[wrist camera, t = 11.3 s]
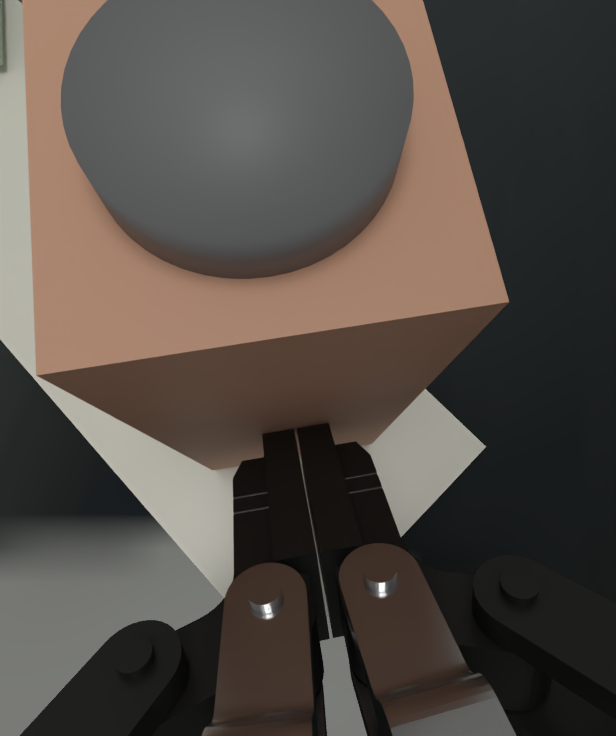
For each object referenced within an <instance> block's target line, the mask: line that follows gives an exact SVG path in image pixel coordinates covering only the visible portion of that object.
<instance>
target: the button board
mask: <svg viewBox="0 0 616 736" xmlns="http://www.w3.org/2000/svg"><path fill="white" fill-rule="evenodd" d="M2 40H3V65H0V340H1V341H2V342H3V343H4V344H5V346H6V347H7V348H8V349H9V350H10V351H11V352H12V354H13V355H14V356H15V357H16V358H17V359H18V361H19V362H20V363H21V364H22V365H23V366H24V368H25V369H26V370H27V371H28V372H29V373H30V374H31V376H32V377H33V378H34V379H35V380H36V381H37V383H38V384H39V385H40V386H41V387H42V388H43V390H44V391H45V392H46V393H47V394H48V395H49V396H50V398H51V399H52V400H53V401H54V402H55V403H56V405H57V406H58V407H59V408H60V409H61V410H62V412H63V413H64V414H65V415H66V416H67V417H68V418H69V420H70V421H71V422H72V423H73V424H74V425H75V427H76V428H77V429H78V430H79V431H80V432H81V434H82V435H83V436H84V437H85V438H86V439H87V440H88V442H89V443H90V444H91V445H92V446H93V447H94V449H95V450H96V451H97V452H98V453H99V454H100V456H101V457H102V458H103V459H104V460H105V461H106V462H107V464H108V465H109V466H110V467H111V468H112V469H113V471H114V472H115V473H116V474H117V475H118V476H119V478H120V479H121V480H122V481H123V482H124V483H125V484H126V486H127V487H128V488H129V489H130V490H131V491H132V493H133V494H134V495H135V496H136V497H137V498H138V500H139V501H140V502H141V503H142V504H143V505H144V506H145V508H146V509H147V510H148V511H149V512H150V513H151V515H152V516H153V517H154V518H155V519H156V520H157V522H158V523H159V524H160V525H161V526H162V527H163V528H164V530H165V531H166V532H167V533H168V534H169V535H170V537H171V538H172V539H173V540H174V541H175V542H176V544H177V545H178V546H179V547H180V548H181V549H182V550H183V552H184V553H185V554H186V555H187V556H188V557H189V559H190V560H191V561H192V562H193V563H194V564H195V566H196V567H197V568H198V569H199V570H200V571H201V572H202V574H203V575H204V576H205V577H206V578H207V579H208V581H209V582H210V583H211V584H212V585H213V586H214V587H215V589H216V590H217V591H218V592H219V593H220V594H221V596H222V597H223V598H225V595H226V593H227V590H228V588H229V586H230V585H231V583H232V581H233V576H234V542H233V516H234V514H233V477H234V475H235V473H236V471H237V469H238V468H239V466H236V467H230V468H224V469H218V470H211V469H209V468H207V467H205V466H203V465H202V464H200V463H198V462H196V461H194V460H192V459H190V458H189V457H187V456H185V455H183V454H181V453H179V452H177V451H176V450H174V449H172V448H170V447H168V446H166V445H164V444H163V443H161V442H159V441H157V440H155V439H153V438H151V437H150V436H148V435H146V434H144V433H142V432H140V431H138V430H137V429H135V428H133V427H131V426H129V425H127V424H125V423H124V422H122V421H120V420H118V419H116V418H114V417H112V416H111V415H109V414H107V413H105V412H103V411H101V410H99V409H98V408H96V407H94V406H92V405H90V404H88V403H86V402H85V401H83V400H81V399H79V398H77V397H75V396H73V395H72V394H70V393H68V392H66V391H64V390H62V389H60V388H59V387H57V386H55V385H53V384H51V383H49V382H47V381H46V380H44V379H42V378H40V377H38V376H36V356H35V329H34V302H33V275H32V248H31V221H30V194H29V168H28V141H27V114H26V87H25V60H24V33H23V6H22V3H21V2H20V1H18V0H2ZM361 446H362V447H363V448H364V449H365V450H366V451H367V452H368V453H369V454H370V455H371V458H372V460H373V463H374V466H375V468H376V471H377V475H378V477H379V479H380V482H381V485H382V489H383V490H384V493H385V496H386V498H387V501H388V504H389V507H390V509H391V512H392V515H393V518H394V520H395V523H396V526H397V528H398V531H399V534H400V537H402V536H403V535H404V534H405V533H406V532H407V530H408V529H409V528H410V527H411V526H412V525H413V524H414V523H415V522H416V521H417V520H418V519H419V518H420V517H421V516H422V514H423V513H424V512H425V511H426V510H427V509H428V508H429V507H430V506H431V505H432V504H433V503H434V502H435V501H436V500H437V499H438V497H439V496H440V495H441V494H442V493H443V492H444V491H445V490H446V489H447V488H448V487H449V486H450V485H451V484H452V483H453V481H454V480H455V479H456V478H457V477H458V476H459V475H460V474H461V473H462V472H463V471H464V470H465V469H466V468H467V467H468V466H469V464H470V463H471V462H472V461H473V460H474V459H475V458H476V457H477V456H478V455H479V454H480V453H481V452H482V451H483V450H484V448H485V447H486V446H485V445H484V444H483V443H482V442H481V441H479V440H478V439H477V438H476V437H475V436H474V435H473V434H472V433H471V432H470V431H469V430H468V429H467V428H466V427H465V426H464V425H463V424H462V423H461V422H460V421H459V420H457V419H456V418H455V417H454V416H453V415H452V414H451V413H450V412H449V411H448V410H447V409H446V408H445V407H444V406H443V405H442V404H441V403H440V402H439V401H438V400H437V399H435V398H434V397H433V396H432V395H431V394H430V393H429V392H428V391H427V390H426V389H425V390H424V391H423V392H422V393H421V394H420V395H419V396H418V397H417V398H416V399H415V400H414V401H413V402H412V403H411V404H410V405H409V406H408V407H407V408H406V409H405V410H404V411H403V412H402V413H401V414H400V415H399V416H398V417H397V418H396V420H395V421H394V422H393V423H392V424H391V425H390V426H389V427H388V428H387V429H386V430H385V431H384V432H383V433H382V434H381V435H380V436H379V437H378V438H377V439H376V440H375V441H374V442H373V443H372V444H367V445H361ZM299 459H300V465H301V470H302V476H303V481H304V486H305V479H304V473H303V466H302V460H301V456H299ZM305 492H306V486H305ZM306 497H307V492H306ZM307 503H308V498H307ZM308 508H309V504H308ZM309 514H310V509H309ZM310 519H311V515H310ZM311 525H312V520H311ZM312 530H313V526H312ZM313 536H314V531H313ZM314 541H315V536H314ZM315 547H316V542H315ZM316 552H317V547H316ZM317 559H318V566H319V572H320V579H321V585H322V592H323V599H324V605H325V612H326V617H327V615H329V613H328V607H327V602H326V596H325V591H324V585H323V580H322V575H321V569H320V564H319V558H318V553H317Z"/></svg>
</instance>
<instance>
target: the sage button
mask: <svg viewBox="0 0 616 736" xmlns="http://www.w3.org/2000/svg"><path fill="white" fill-rule="evenodd" d="M0 65H3V40H2V0H0Z"/></svg>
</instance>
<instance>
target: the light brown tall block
mask: <svg viewBox="0 0 616 736" xmlns="http://www.w3.org/2000/svg"><path fill="white" fill-rule="evenodd" d="M22 6H23V33H24V60H25V87H26V114H27V141H28V168H29V194H30V221H31V248H32V275H33V302H34V329H35V356H36V376H38V377H40V378H42V379H44V380H46V381H47V382H49V383H51V384H53V385H55V386H57V387H59V388H60V389H62V390H64V391H66V392H68V393H70V394H72V395H73V396H75V397H77V398H79V399H81V400H83V401H85V402H86V403H88V404H90V405H92V406H94V407H96V408H98V409H99V410H101V411H103V412H105V413H107V414H109V415H111V416H112V417H114V418H116V419H118V420H120V421H122V422H124V423H125V424H127V425H129V426H131V427H133V428H135V429H137V430H138V431H140V432H142V433H144V434H146V435H148V436H150V437H151V438H153V439H155V440H157V441H159V442H161V443H163V444H164V445H166V446H168V447H170V448H172V449H174V450H176V451H177V452H179V453H181V454H183V455H185V456H187V457H189V458H190V459H192V460H194V461H196V462H198V463H200V464H202V465H203V466H205V467H207V468H209V469H211V470H218V469H224V468H230V467H236V466H240V464H241V462H242V461H245V460H250V459H256V458H262V457H264V449H263V439H262V434H267V433H273V432H279V431H285V430H291V429H294V432H295V437H296V443H297V448H298V454H299V456H301V453H300V446H299V440H298V433H297V428H302V427H308V426H314V425H320V424H326V423H329V426H330V429H331V433H332V436H333V440H334V443H335V445H337V444H343V443H349V442H355V441H356V442H357V443H358V444H359V445H360V446H361V445H367V444H372V443H373V442H374V441H375V440H376V439H377V438H378V437H379V436H380V435H381V434H382V433H383V432H384V431H385V430H386V429H387V428H388V427H389V426H390V425H391V424H392V423H393V422H394V421H395V420H396V418H397V417H398V416H399V415H400V414H401V413H402V412H403V411H404V410H405V409H406V408H407V407H408V406H409V405H410V404H411V403H412V402H413V401H414V400H415V399H416V398H417V397H418V396H419V395H420V394H421V393H422V392H423V391H424V390H425V388H426V387H427V386H428V385H429V384H430V383H431V382H432V381H433V380H434V379H435V378H436V377H437V376H438V375H439V374H440V373H441V372H442V371H443V370H444V369H445V368H446V367H447V366H448V365H449V364H450V363H451V362H452V361H453V360H454V359H455V357H456V356H457V355H458V354H459V353H460V352H461V351H462V350H463V349H464V348H465V347H466V346H467V345H468V344H469V343H470V342H471V341H472V340H473V339H474V338H475V337H476V336H477V335H478V334H479V333H480V332H481V331H482V330H483V329H484V327H485V326H486V325H487V324H488V323H489V322H490V321H491V320H492V319H493V318H494V317H495V316H496V315H497V314H498V313H499V312H500V311H501V310H502V309H503V308H504V307H505V306H506V305H507V304H508V303H509V300H508V296H507V293H506V289H505V286H504V282H503V279H502V275H501V272H500V268H499V265H498V261H497V258H496V254H495V251H494V247H493V244H492V240H491V237H490V233H489V230H488V226H487V223H486V219H485V216H484V212H483V209H482V205H481V202H480V198H479V195H478V191H477V188H476V184H475V181H474V177H473V174H472V170H471V167H470V163H469V160H468V156H467V153H466V150H465V146H464V143H463V139H462V136H461V132H460V129H459V125H458V122H457V118H456V115H455V111H454V108H453V104H452V101H451V97H450V94H449V90H448V87H447V83H446V80H445V76H444V73H443V69H442V66H441V62H440V59H439V55H438V52H437V48H436V45H435V41H434V38H433V34H432V31H431V27H430V24H429V20H428V17H427V13H426V10H425V6H424V3H423V0H22Z"/></svg>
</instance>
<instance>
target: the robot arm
mask: <svg viewBox="0 0 616 736" xmlns="http://www.w3.org/2000/svg"><path fill="white" fill-rule="evenodd" d="M297 433H298V440H299V446H300V453H301V460H302V466H303V473H304V479H305V486H306V492H307V497H306V492H305V486H304V481H303V476H302V470H301V465H300V459H299V454H298V448H297V443H296V437H295V432H294V429H291V430H285V431H279V432H273V433H267V434H262V439H263V449H264V457H262V458H256V459H250V460H245V461H242V462H241V464H240V466H239V468H238V469H237V471H236V473H235V475H234V477H233V514H234V516H233V542H234V576H233V581H232V583H231V585H230V586H229V588H228V590H227V593H226V595H225V598H224V599H223V600H222V602H221V603H220V604H219V605H218V606H217V607H216V608H215V609H213V610H212V611H211V612H209V613H208V614H207V615H205V616H203V617H201V618H200V619H198V620H196V621H194V622H192V623H190V624H188V625H186V626H184V627H182V628H180V629H178V630H176V631H175V630H174V629H173V628H172V627H171V626H169V625H168V624H166V623H163V622H161V621H156V620H147V621H140V622H137V623H133V624H131V625H129V626H126V627H125V628H123V629H121V630H119V631H118V632H117V633H116V634H114V635H113V636H112V637H110V638H109V640H107V641H106V642H105V644H104V645H103V646H102V647H101V648H100V649H99V650H98V651H97V652H96V653H95V654H94V655H93V656H92V658H91V659H90V660H89V661H88V662H87V663H86V664H85V665H84V667H82V669H81V670H80V671H79V672H78V673H77V674H76V675H75V676H74V677H73V678H72V679H71V681H70V682H69V683H68V684H67V685H66V686H65V687H64V688H63V689H62V690H61V691H60V692H59V694H58V695H57V696H56V697H55V698H54V699H53V700H52V701H51V702H50V703H49V704H48V706H47V707H46V708H45V709H44V710H43V711H42V712H41V713H40V714H39V715H38V717H37V718H36V719H35V720H34V721H33V722H32V723H31V724H30V725H29V726H28V727H27V728H26V729H25V731H24V732H23V733H22V734H21V735H20V736H327V731H326V718H325V705H324V693H323V683H322V680H323V673H324V669H323V668H324V667H323V660H322V654H321V648H320V641H321V640H325V639H329V632H328V625H327V619H326V612H325V605H324V599H323V592H322V585H321V579H320V572H319V566H318V559H317V553H318V558H319V564H320V569H321V575H322V580H323V585H324V591H325V596H326V602H327V607H328V613H329V617H330V623H331V629H332V634H333V638H335V637H340V636H344V638H345V642H346V647H347V652H348V657H349V664H350V672H351V678H352V682H353V686H354V690H355V693H356V697H357V700H358V703H359V707H360V711H361V714H362V718H363V721H364V725H365V729H366V732H367V736H616V603H615V602H613V601H611V600H609V599H607V598H605V597H603V596H601V595H599V594H597V593H596V592H594V591H592V590H590V589H588V588H586V587H584V586H582V585H580V584H578V583H576V582H575V581H573V580H571V579H569V578H567V577H565V576H563V575H561V574H559V573H557V572H555V571H553V570H552V569H550V568H548V567H546V566H544V565H542V564H540V563H538V562H536V561H534V560H532V559H529V558H525V557H521V556H515V555H504V556H498V557H494V558H491V559H489V560H487V561H486V562H484V563H483V564H482V565H481V566H480V567H479V568H478V570H477V571H476V573H475V574H467V573H457V572H448V571H442V570H438V569H434V568H431V567H429V566H427V565H425V564H423V563H421V562H420V561H418V560H417V559H416V558H414V557H413V556H412V555H411V554H410V553H409V552H408V550H407V549H406V548H405V546H404V544H403V542H402V539H401V537H400V534H399V531H398V528H397V526H396V523H395V520H394V518H393V515H392V512H391V509H390V507H389V504H388V501H387V498H386V496H385V493H384V490H383V489H382V485H381V482H380V479H379V477H378V475H377V471H376V468H375V466H374V463H373V460H372V458H371V455H370V454H369V453H368V452H367V451H366V450H365V449H364V448H363V447H362V446H360V445H359V444H358V443H357V442H356V441H355V442H349V443H343V444H337V445H335V443H334V440H333V436H332V433H331V429H330V426H329V423H326V424H320V425H314V426H308V427H302V428H297ZM307 498H308V503H307ZM308 504H309V508H308ZM309 509H310V514H309ZM310 515H311V519H310ZM311 520H312V525H311ZM312 526H313V530H312ZM313 531H314V536H315V541H314V536H313ZM315 542H316V547H317V552H316V547H315Z"/></svg>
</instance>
